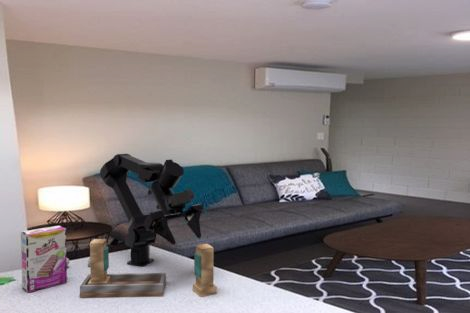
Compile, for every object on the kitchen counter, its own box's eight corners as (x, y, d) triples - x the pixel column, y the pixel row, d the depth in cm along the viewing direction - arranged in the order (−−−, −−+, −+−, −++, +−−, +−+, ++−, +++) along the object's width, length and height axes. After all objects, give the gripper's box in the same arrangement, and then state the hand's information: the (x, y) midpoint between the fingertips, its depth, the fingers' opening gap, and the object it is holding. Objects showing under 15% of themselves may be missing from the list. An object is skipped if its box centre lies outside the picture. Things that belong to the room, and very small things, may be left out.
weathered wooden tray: (79, 297, 116) (78, 246, 115) (89, 283, 126) (88, 236, 125) (162, 296, 117) (162, 245, 116) (166, 282, 127) (165, 235, 126)
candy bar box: (28, 293, 118) (25, 234, 117) (21, 288, 122) (19, 231, 120) (68, 282, 126) (66, 227, 125) (61, 278, 130) (59, 224, 128)
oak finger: (208, 287, 124) (208, 242, 123) (216, 293, 119) (216, 247, 118) (192, 290, 121) (192, 245, 120) (200, 297, 117) (200, 250, 116)
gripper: (148, 184, 120) (172, 230, 114) (200, 177, 133) (225, 219, 126) (134, 207, 127) (156, 253, 120) (185, 199, 140) (207, 240, 133)
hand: (187, 240), depth 125 cm, fingers open, 9 cm apart
